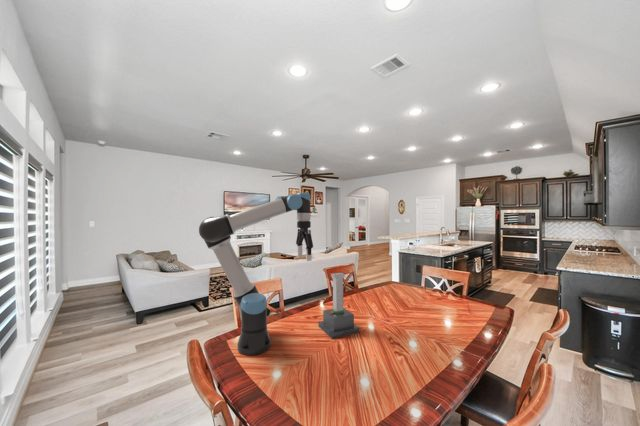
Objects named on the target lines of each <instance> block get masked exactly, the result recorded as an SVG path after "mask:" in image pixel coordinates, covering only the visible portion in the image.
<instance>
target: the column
mask: <svg viewBox="0 0 640 426" xmlns="http://www.w3.org/2000/svg"><path fill="white" fill-rule="evenodd" d="M330 278H332V309H333V312H334V314H336V315H338V314H343V312H344V310H343V308H344V278H345V273H343V272H334V273H330Z"/></svg>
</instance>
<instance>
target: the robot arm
mask: <svg viewBox="0 0 640 426" xmlns="http://www.w3.org/2000/svg"><path fill="white" fill-rule="evenodd" d="M291 211H296V220H297V221H296V222H297V223H296V228H297V236H296V240H295V241H296V242H295V244H296V246H297V258H303V241H304V242H305V243H304V244H305V246H306V247H305V255H306V256H305V258H306V259H305V260H306V262H310V261H312V248H314V244H313V239H312V231H311V227H312V226H311V223H312V222H311V217H312V214H311V194H310V193H309V192H297V193H295V194H294V193H292V194H290V195H286V196H284V195H283V196H282V195H281V196H279V195H277V196H276V197H275V199H274V200H272V201H268V202H266V203H263V204H260V205H256V206H254V207H251V208H248V209H245V210H242V211H239V212H236V213H233V214H228V213H227V214H223V215H219V216H209V217H206V218H204V219H203V220H202V221H201V223H200V225H199V227H198V233H199V236H200V238H201V239H202V240H203V241H204V243H205V244H206V247H207V248H208V249H210V250H212V251H213V253H214V255H215V256H216V259H217V260H218V262H219V265H220V267H221V268H222V270H223V272H224V274H225V276H226V278H227V279H228V282H229V284H230V285H231V288H232V289H233V291H234V292H233V295H232V296H233V299H234V300H235V302H236V305H237V307H238V309H239V312H240V319H241V321H240V323H241V325H240V328H241V331H240V332H241V333H240V336H239V339H238V341H237V351H238V353H240V354H242V355H245V356H254V355H260V354H263V353H265V352H266V351H268V350H270V348H271V346H272V340H271V339H272V338H271V337H270V334H269V330H268V308H267V306H268V301H267V297H266V295H265V294H262V293H260V292H259V291H258V289H257V286H256V285H255V283H252V282H250V279H249V277H248V275H247V273H246V272H245V269H244V268H243V266H242V264H241V261H240V260H239V258H238V256H237V254H236V252H235V249H234V247H233V246H232V244H231V242H230V241H231V238H232V237H231V236H232V235H234V234H235V233H236V231H237V232H238V230H242V229H244V228H248V227H250V226H253V225H256V224H258V223H261V222H263V221H266V220H270V219H272V218H274V217H278V216H280V215H283V214H285V213H289V212H291Z"/></svg>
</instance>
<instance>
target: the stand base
mask: <svg viewBox="0 0 640 426" xmlns="http://www.w3.org/2000/svg"><path fill="white" fill-rule="evenodd" d="M343 310H344V312H343V314H338V315H336V314H334V312H333V308H330V309H325V310H322V316H323V319H322V321H318V327H319V329H321V331H323V332H324V333H325V334H326V335H328V337H329V338H330V339H331V340H332V339H337V338H342V337H345V336H350V335H355V334H358V333H360V327H359V326H358V325H356V324H355V314H354V313H353V312H351V311H349V310H347V309H346V308H344V307H343Z"/></svg>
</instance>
